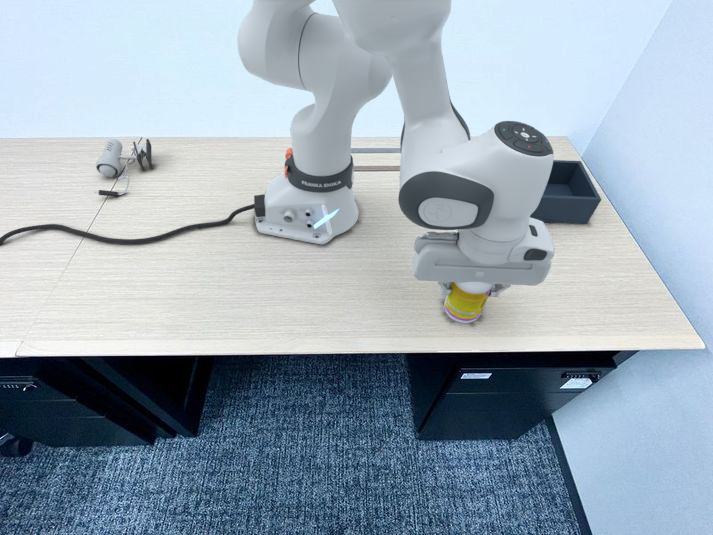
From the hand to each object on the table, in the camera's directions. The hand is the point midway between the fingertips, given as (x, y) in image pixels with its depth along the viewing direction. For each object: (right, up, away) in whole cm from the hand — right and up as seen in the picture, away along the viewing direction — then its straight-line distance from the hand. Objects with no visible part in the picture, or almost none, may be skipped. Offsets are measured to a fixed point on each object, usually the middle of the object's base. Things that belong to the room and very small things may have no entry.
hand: (468, 293), depth 67 cm
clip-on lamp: (-75, +26, +30) cm, 85 cm away
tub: (+25, +19, +24) cm, 39 cm away
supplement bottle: (0, -3, +4) cm, 5 cm away
